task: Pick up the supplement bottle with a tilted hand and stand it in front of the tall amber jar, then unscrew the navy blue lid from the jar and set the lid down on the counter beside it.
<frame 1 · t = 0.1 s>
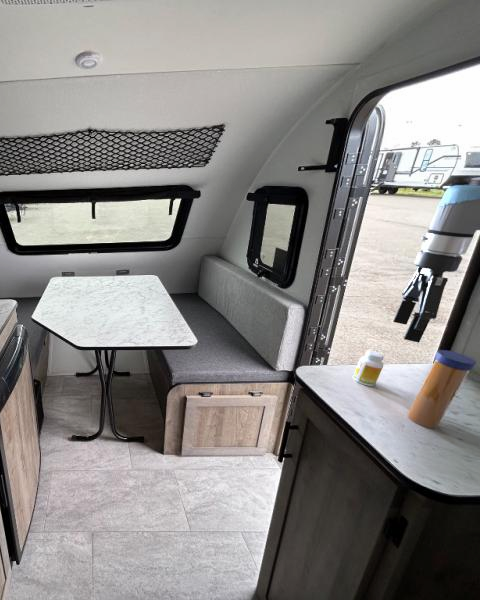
hand: (405, 331, 86), 20 cm above the counter, tool pointing down, fingers open, 13 cm apart
supplement bottle: (363, 381, 99), on the counter
jar lid: (455, 358, 77), point 19 cm above the counter, screwed on, not yet turned
jar: (421, 420, 83), on the counter
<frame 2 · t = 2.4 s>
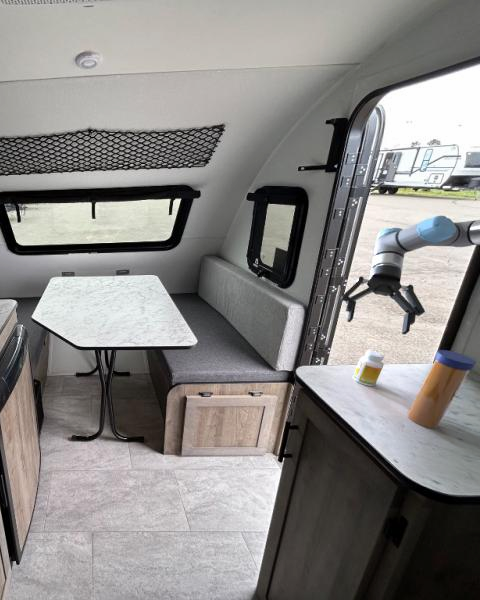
hand: (376, 326, 101), 15 cm above the counter, tool tilted 45°, fingers open, 13 cm apart
nothing on the counter moved.
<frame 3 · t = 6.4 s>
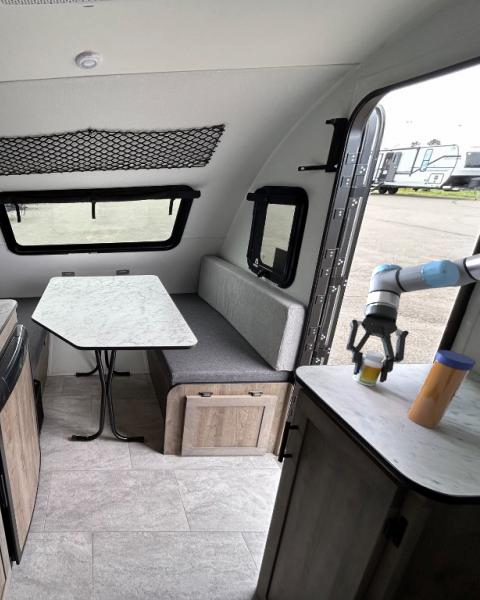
hand: (369, 376, 95), 4 cm above the counter, tool tilted 45°, fingers closed on supplement bottle, 5 cm apart
supplement bottle: (363, 381, 99), on the counter, touching gripper
everything else where it was.
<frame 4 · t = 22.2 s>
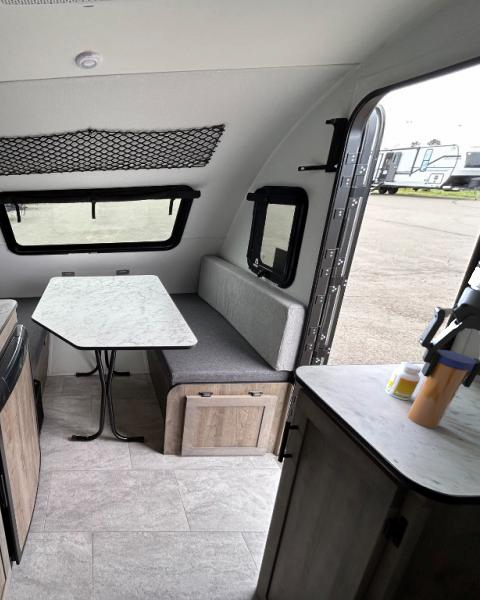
hand: (444, 379, 79), 13 cm above the counter, tool pointing down, fingers closed on jar lid, 6 cm apart
supplement bottle: (396, 395, 94), on the counter
jar lid: (455, 358, 77), point 19 cm above the counter, screwed on, not yet turned, touching gripper
everything else where it was.
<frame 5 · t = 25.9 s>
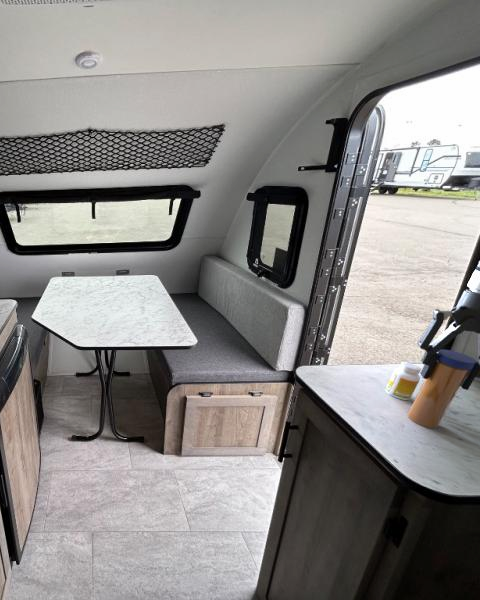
hand: (443, 381, 79), 12 cm above the counter, tool pointing down, fingers closed on jar lid, 6 cm apart
jar lid: (456, 357, 77), point 19 cm above the counter, turned 127° so far, risen 0.2 cm, still on its thread, touching gripper
everything else where it was.
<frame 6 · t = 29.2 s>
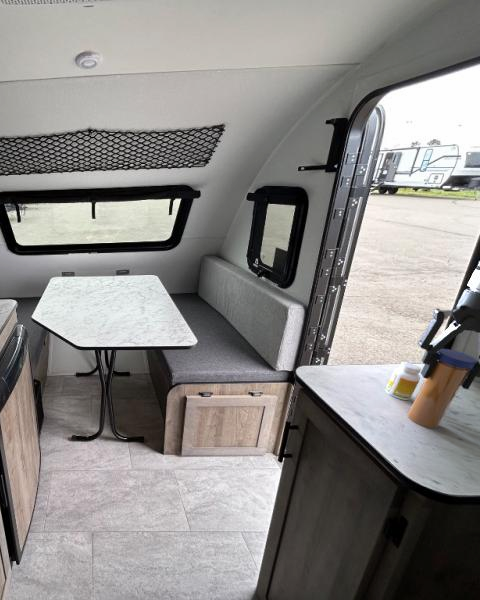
hand: (443, 380, 79), 12 cm above the counter, tool pointing down, fingers closed on jar lid, 6 cm apart
jar lid: (456, 356, 76), point 19 cm above the counter, turned 254° so far, risen 0.3 cm, still on its thread, touching gripper
everything else where it was.
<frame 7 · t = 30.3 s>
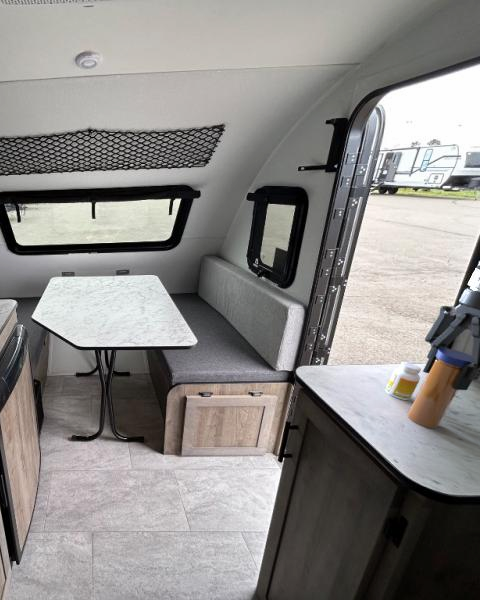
hand: (443, 380, 79), 12 cm above the counter, tool pointing down, fingers closed on jar lid, 6 cm apart
jar lid: (456, 356, 76), point 19 cm above the counter, off its thread, touching gripper
everything else where it was.
when the fingers open (1 cm above the counter, at t = 40.4 s): jar lid drops 6 cm, point 1 cm above the counter.
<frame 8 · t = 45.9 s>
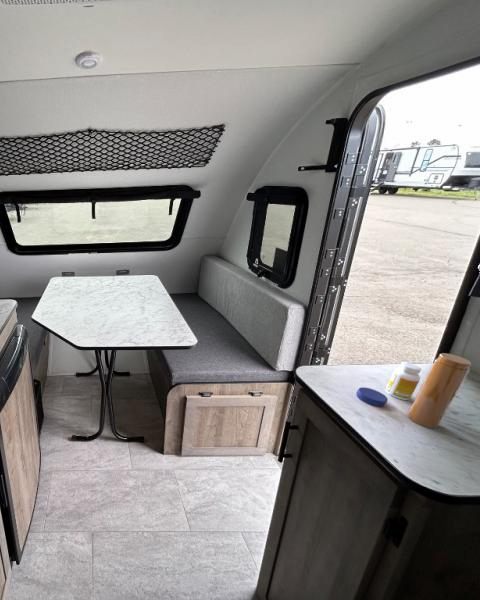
jar lid: (372, 395, 90), point 1 cm above the counter, off its thread
everything else where it was.
at the end: jar lid came off its thread; jar lid point 1.4 cm above the counter; supplement bottle 0.1 cm from the target spot on the counter beside the jar, on the counter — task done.
